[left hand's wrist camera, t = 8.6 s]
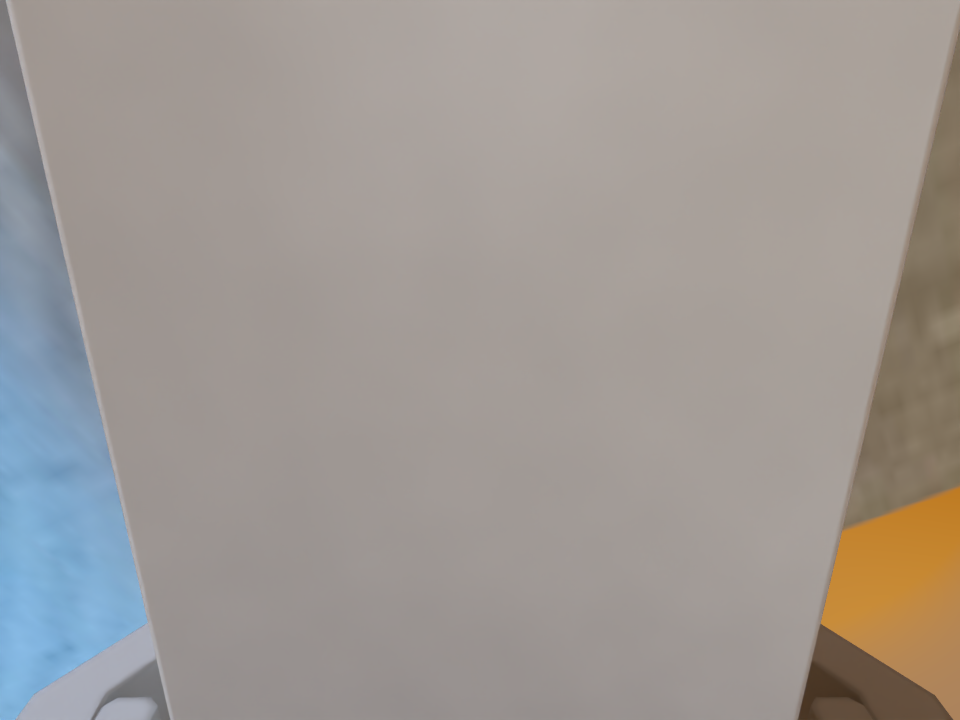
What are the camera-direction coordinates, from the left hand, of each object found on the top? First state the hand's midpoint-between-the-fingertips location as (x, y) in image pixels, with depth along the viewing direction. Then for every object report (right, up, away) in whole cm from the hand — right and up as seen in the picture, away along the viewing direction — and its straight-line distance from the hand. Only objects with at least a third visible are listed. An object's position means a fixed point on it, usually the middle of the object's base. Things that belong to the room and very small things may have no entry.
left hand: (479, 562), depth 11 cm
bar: (0, +11, 0) cm, 11 cm away
